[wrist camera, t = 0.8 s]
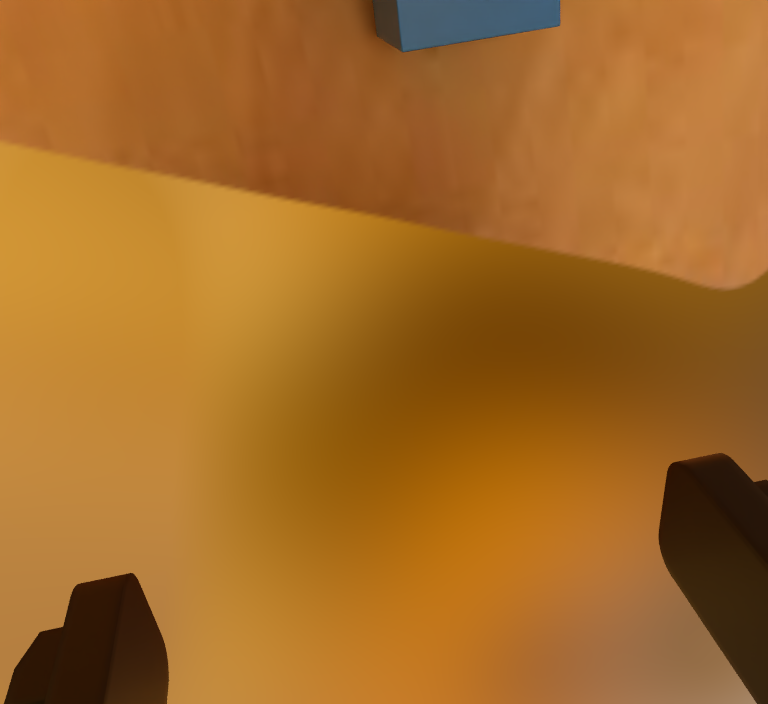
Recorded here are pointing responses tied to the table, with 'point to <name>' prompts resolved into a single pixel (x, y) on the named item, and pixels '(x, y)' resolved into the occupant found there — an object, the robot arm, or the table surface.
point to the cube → (458, 20)
